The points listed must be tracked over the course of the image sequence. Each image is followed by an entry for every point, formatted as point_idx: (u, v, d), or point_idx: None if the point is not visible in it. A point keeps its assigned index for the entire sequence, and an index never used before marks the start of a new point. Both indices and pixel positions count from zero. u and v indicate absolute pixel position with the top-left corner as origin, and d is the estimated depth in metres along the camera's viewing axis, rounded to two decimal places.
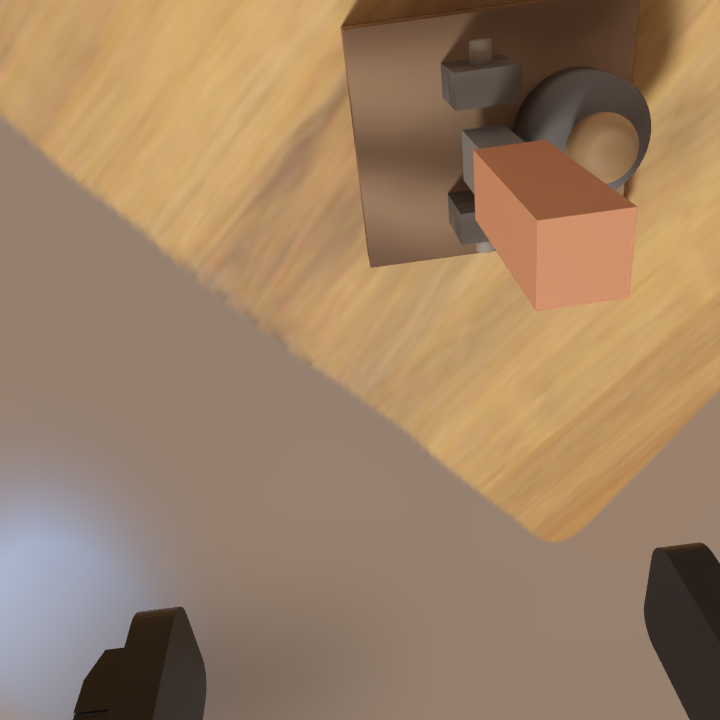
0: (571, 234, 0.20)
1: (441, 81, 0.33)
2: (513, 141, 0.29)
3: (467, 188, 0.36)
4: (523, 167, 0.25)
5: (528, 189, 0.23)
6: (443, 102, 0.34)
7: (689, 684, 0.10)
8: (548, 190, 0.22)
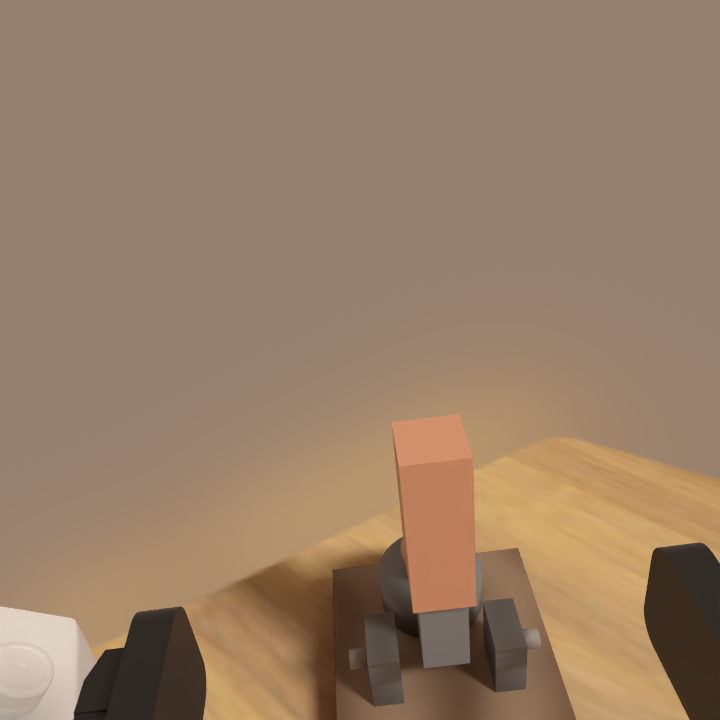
0: (410, 448, 0.28)
1: (389, 704, 0.35)
2: None
3: (489, 674, 0.36)
4: (405, 542, 0.31)
5: (402, 510, 0.29)
6: (408, 702, 0.36)
7: (689, 684, 0.10)
8: (400, 495, 0.30)
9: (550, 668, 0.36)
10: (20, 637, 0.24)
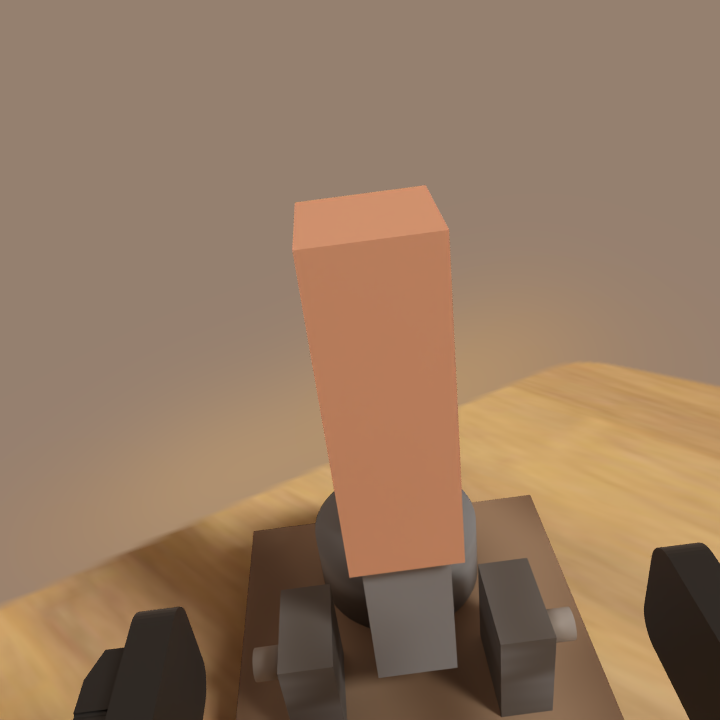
0: (322, 228, 0.14)
1: None
2: None
3: (490, 686, 0.22)
4: None
5: None
6: None
7: (689, 684, 0.10)
8: None
9: (591, 674, 0.22)
10: None
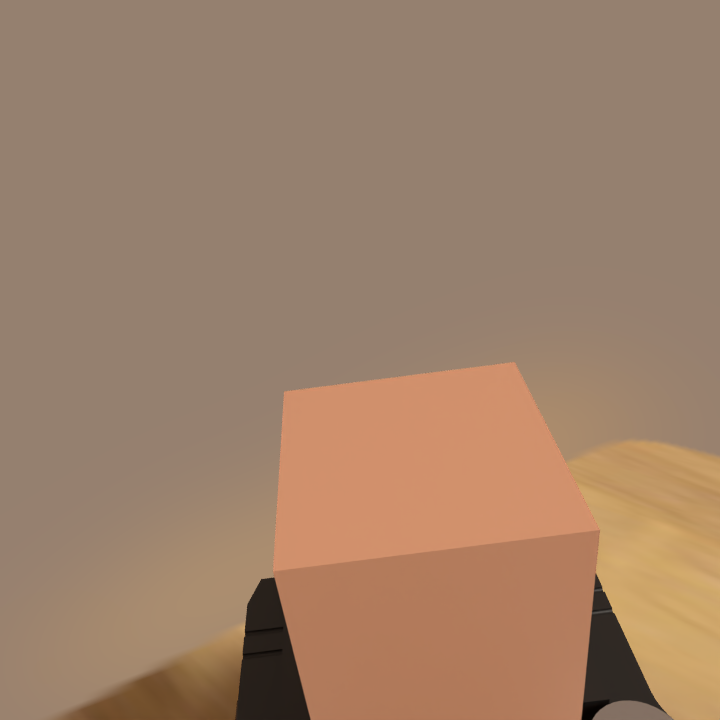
0: (333, 486, 0.07)
1: None
2: None
3: None
4: None
5: None
6: None
7: None
8: None
9: None
10: None
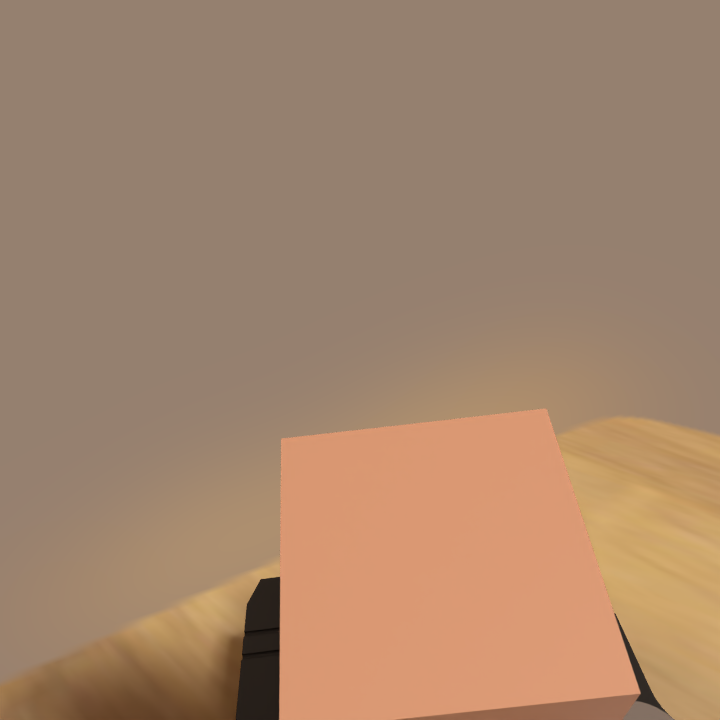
0: (341, 599, 0.06)
1: None
2: None
3: None
4: None
5: None
6: None
7: None
8: None
9: None
10: None
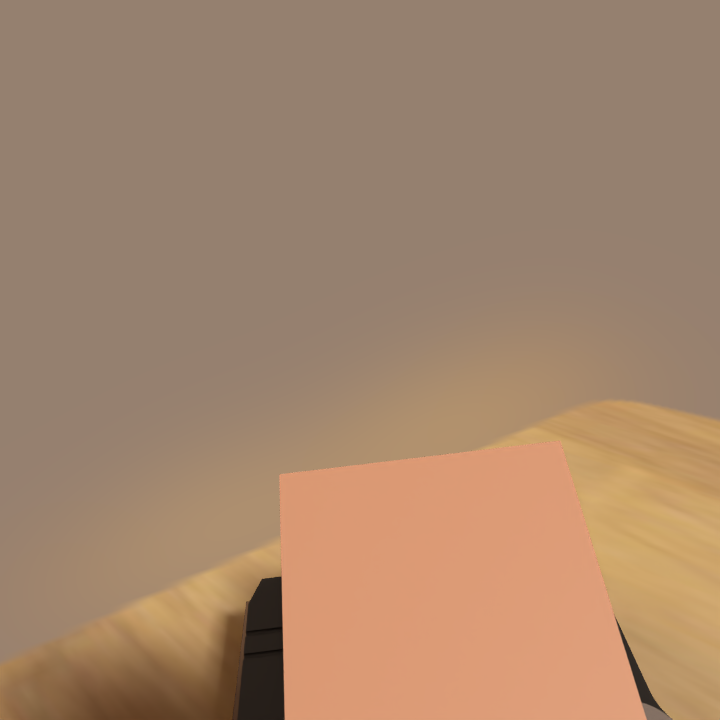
0: (347, 662, 0.06)
1: None
2: None
3: None
4: None
5: None
6: None
7: None
8: None
9: None
10: None
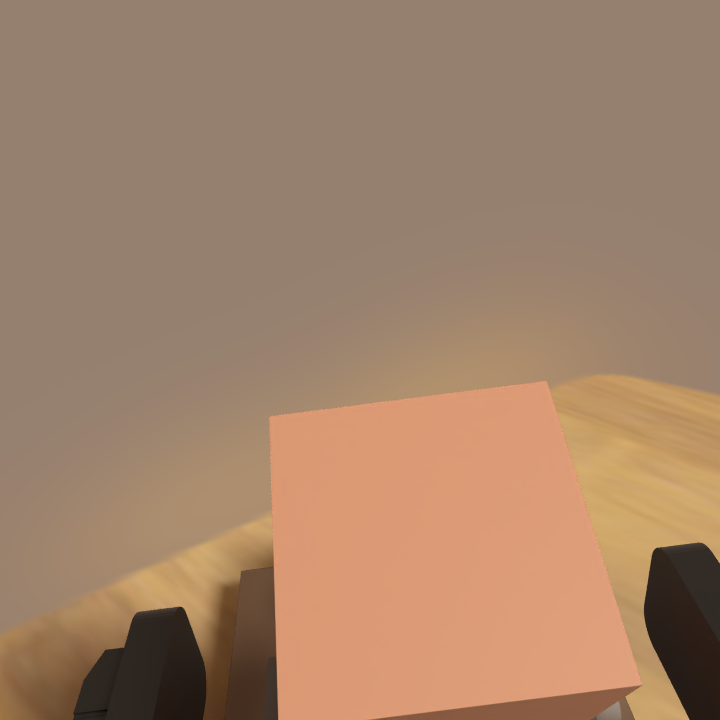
0: (339, 592, 0.06)
1: None
2: None
3: None
4: None
5: None
6: None
7: (689, 684, 0.10)
8: None
9: None
10: None
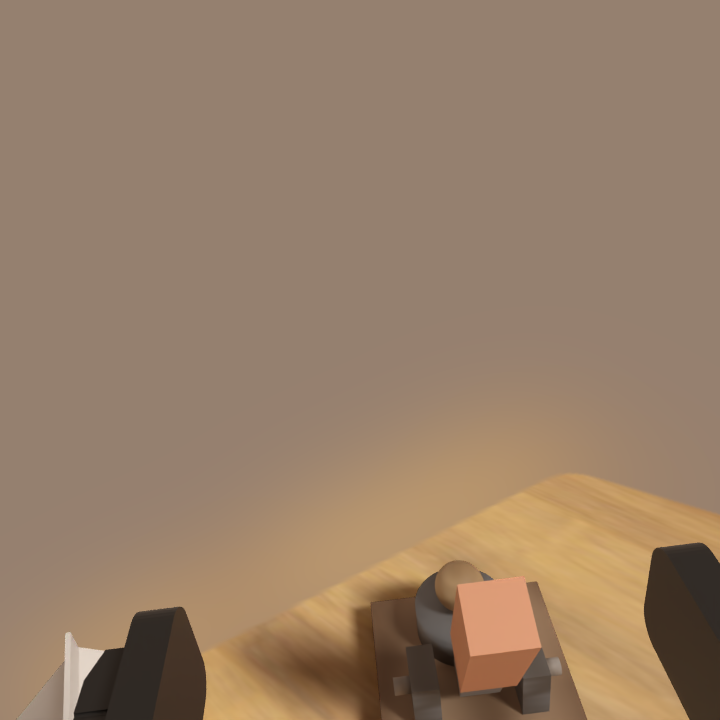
0: (479, 628, 0.29)
1: None
2: None
3: (516, 698, 0.41)
4: (459, 655, 0.33)
5: (464, 656, 0.31)
6: None
7: (689, 684, 0.10)
8: (462, 642, 0.31)
9: (570, 692, 0.41)
10: None
